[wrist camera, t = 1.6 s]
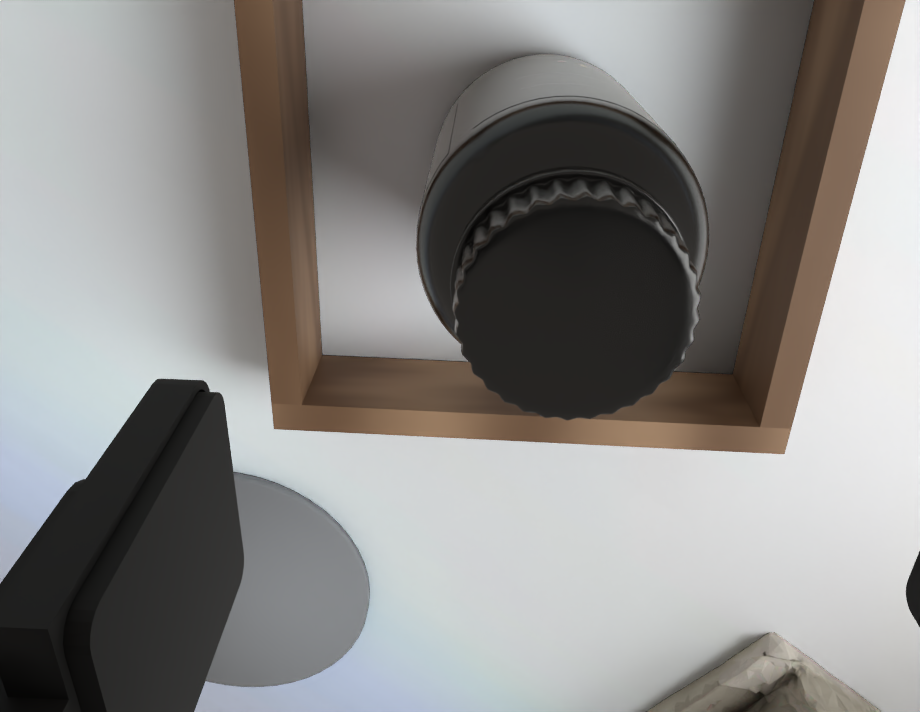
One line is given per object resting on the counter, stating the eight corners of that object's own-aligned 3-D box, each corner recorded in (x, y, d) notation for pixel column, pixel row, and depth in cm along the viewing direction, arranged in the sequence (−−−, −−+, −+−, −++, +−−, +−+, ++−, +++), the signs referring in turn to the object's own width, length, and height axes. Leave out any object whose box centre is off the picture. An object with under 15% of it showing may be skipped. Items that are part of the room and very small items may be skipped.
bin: (882, -140, 22) (945, -150, 19) (754, 399, 30) (784, 454, 27) (257, -161, 22) (218, -175, 19) (297, 377, 30) (274, 428, 27)
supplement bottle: (606, 282, 28) (672, 500, 17) (415, 231, 27) (362, 424, 17) (683, 82, 25) (820, 201, 14) (467, 19, 24) (443, 94, 14)
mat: (366, 478, 32) (364, 485, 32) (372, 684, 38) (371, 693, 38) (69, 463, 33) (63, 470, 32) (120, 670, 38) (115, 679, 38)
